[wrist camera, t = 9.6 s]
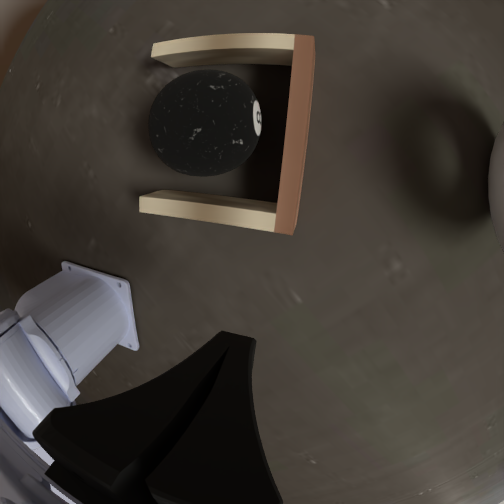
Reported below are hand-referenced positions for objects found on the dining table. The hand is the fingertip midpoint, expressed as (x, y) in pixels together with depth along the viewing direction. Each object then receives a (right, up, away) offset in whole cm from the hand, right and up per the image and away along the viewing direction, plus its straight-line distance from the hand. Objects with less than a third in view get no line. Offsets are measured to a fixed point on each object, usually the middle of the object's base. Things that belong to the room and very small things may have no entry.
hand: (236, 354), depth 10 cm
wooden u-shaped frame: (-1, +12, +6) cm, 13 cm away
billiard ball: (-1, +12, +7) cm, 14 cm away
